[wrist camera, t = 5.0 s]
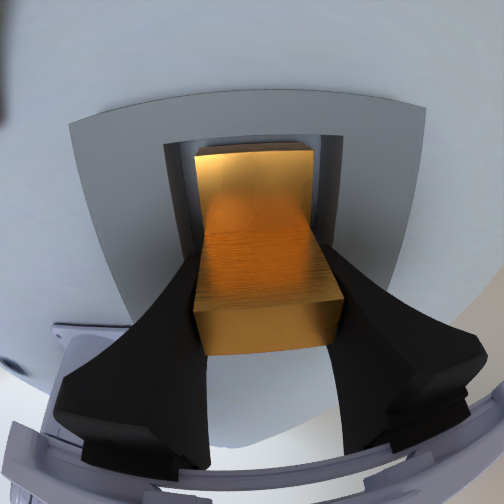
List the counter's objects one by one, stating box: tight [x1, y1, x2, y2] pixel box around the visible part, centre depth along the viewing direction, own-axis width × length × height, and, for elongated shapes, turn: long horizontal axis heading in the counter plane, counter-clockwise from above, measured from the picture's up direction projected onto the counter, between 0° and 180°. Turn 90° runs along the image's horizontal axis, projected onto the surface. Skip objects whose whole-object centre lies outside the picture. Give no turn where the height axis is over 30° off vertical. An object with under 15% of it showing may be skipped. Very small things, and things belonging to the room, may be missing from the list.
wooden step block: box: [193, 143, 344, 356], centre depth 9 cm, size 5×4×6 cm
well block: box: [69, 89, 426, 324], centre depth 11 cm, size 10×13×2 cm
